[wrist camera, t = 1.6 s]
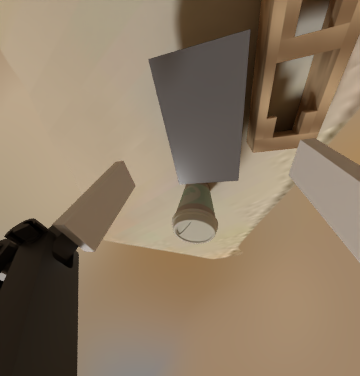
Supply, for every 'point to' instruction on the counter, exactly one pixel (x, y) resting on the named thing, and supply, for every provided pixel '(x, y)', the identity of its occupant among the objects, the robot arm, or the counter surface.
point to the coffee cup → (195, 215)
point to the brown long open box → (292, 49)
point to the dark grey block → (204, 106)
